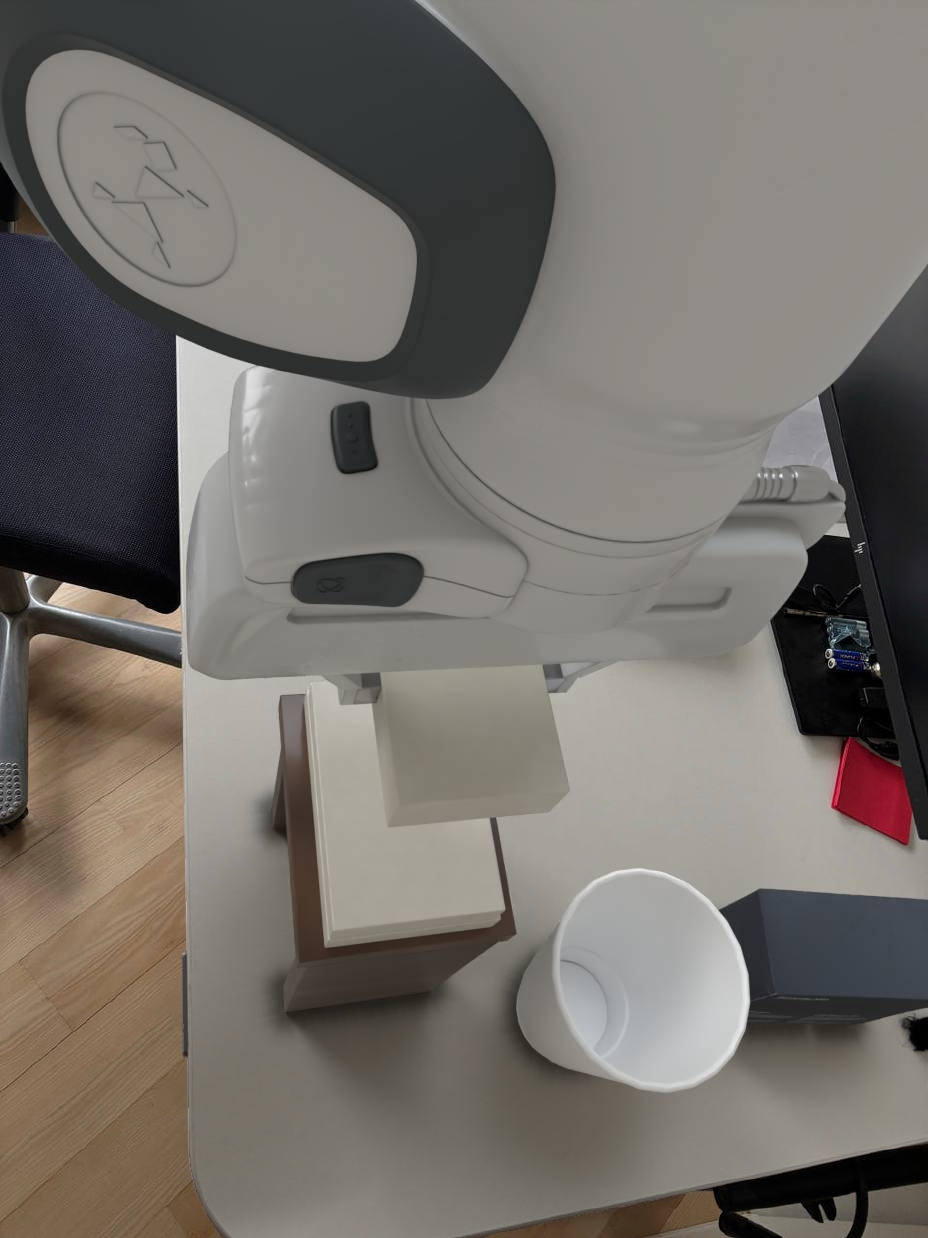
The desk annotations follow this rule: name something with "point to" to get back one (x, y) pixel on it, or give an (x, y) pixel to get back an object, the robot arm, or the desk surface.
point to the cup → (638, 984)
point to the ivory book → (467, 745)
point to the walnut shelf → (315, 967)
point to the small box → (831, 955)
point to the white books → (386, 843)
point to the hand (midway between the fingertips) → (451, 682)
